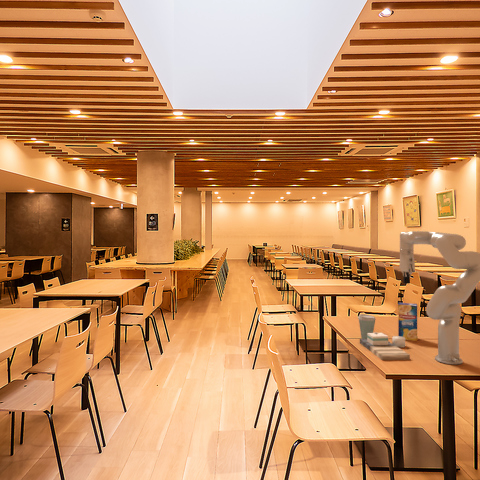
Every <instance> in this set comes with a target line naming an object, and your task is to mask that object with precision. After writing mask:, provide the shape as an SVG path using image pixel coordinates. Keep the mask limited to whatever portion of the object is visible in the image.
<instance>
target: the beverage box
mask: <svg viewBox="0 0 480 480" xmlns="http://www.w3.org/2000/svg"><path fill="white" fill-rule="evenodd" d="M397 310H398V312H397V313H398V315H397V316H398V320H397V323H398V324H397V325H398V329H397V330H398V333H397V334H398V335H397V336H402V337H405V341H416V342H417V341H418V304H417V303H412V302H411V303H410V302H409V303H408V302H398V303H397Z"/></svg>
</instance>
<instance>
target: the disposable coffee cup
mask: <svg viewBox="0 0 480 480" xmlns="http://www.w3.org/2000/svg"><path fill="white" fill-rule="evenodd" d="M357 319H358V323H359V324H358V325H359V330H360V337H361V339H367V333H374V332H375V331H374V329H375V326H376V325H375V324H376V317H375V316H374V315H370V314H363V313H362V314H359V315H358V316H357Z"/></svg>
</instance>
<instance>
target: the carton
mask: <svg viewBox="0 0 480 480" xmlns="http://www.w3.org/2000/svg"><path fill="white" fill-rule="evenodd" d="M388 341H389V335H387V334H385V333H384V332H377V331H376V332H375V331H373V333H367V342H369V343H370V344H372V345H388Z"/></svg>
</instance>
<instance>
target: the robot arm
mask: <svg viewBox="0 0 480 480" xmlns="http://www.w3.org/2000/svg"><path fill="white" fill-rule="evenodd" d="M415 245H427V246H428V245H430V246H432V247H433V248H435V249H437V250H438V253H440V255H441V256H442V257H443V259H444V261H445V262H446V263H447V264H448V265H449V266H450V267H451V268H453V269H455V270H464V271H463V272H462V273H460V275H459V276H458V278H457V279H456V280H455V282H454V283H452V284H444V285H441V286H439V287H438V288H437V289H436V290H435V292H434V293H433V294H432V296H431V298H430V299H429V301H428V302H427V305H426V309H425V310H426V311H425V312H426V315H427V316H428V318H430V319H432V320H435V321H436V320H437V321H438V324H437V346H438V347H437V351H438V352H437V355H435V356H434V360H435V361H437V362H439V363H442V364H447V365H462V364H463V362H464V361H463V359H462V358H461V357H460V355H461V354H460V321H461V315H462V307H461V305H460V304H463V303H465V302H466V301H468V299H469V297H470V296H471V295H472V293H473V292H474V290H475V289H476V287H477V285H478V284H479V283H480V252H478V251H473V250H470V251H468V250H467V251H466V250H465V251H462V250H463V249H464V248H465V247H466V245H467V241H466V238H465V236H463V235H461V234H457V233H447V232H436V231H426V230H425V231H424V230H423V231H420V230H417V231H415V230H413V231H401V232H400V233H399V271H400V272H401V273H402V277H403V281H402V282H403V284H405V285H406V284H408V285H409V284H410V283H411V275H413V273H414V272H415V271H416V263H415V261H416V260H415V256H414V252H415V251H414V246H415Z"/></svg>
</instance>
